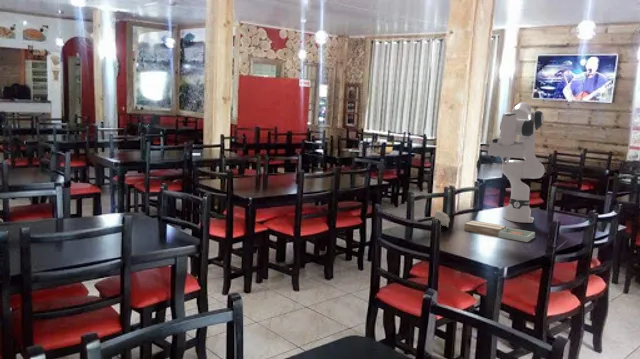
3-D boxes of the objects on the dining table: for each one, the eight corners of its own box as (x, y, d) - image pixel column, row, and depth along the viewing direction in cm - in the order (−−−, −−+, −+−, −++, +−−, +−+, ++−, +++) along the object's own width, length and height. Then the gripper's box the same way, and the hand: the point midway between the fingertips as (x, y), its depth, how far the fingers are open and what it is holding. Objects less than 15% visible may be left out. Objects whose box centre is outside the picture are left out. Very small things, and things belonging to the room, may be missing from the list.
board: (471, 226, 329) (472, 220, 328) (505, 232, 317) (506, 226, 317) (464, 230, 318) (464, 223, 318) (498, 236, 307) (499, 229, 306)
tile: (522, 232, 308) (522, 236, 308) (512, 231, 311) (511, 234, 312) (519, 234, 303) (519, 238, 303) (509, 232, 306) (508, 236, 307)
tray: (505, 232, 318) (506, 227, 318) (534, 237, 309) (535, 232, 309) (497, 236, 306) (498, 231, 306) (527, 242, 297) (527, 236, 296)
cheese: (437, 223, 310) (451, 205, 317) (427, 220, 316) (441, 202, 322) (444, 241, 319) (458, 223, 325) (434, 237, 324) (447, 220, 330)
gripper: (527, 142, 312) (524, 166, 313) (491, 139, 323) (489, 162, 325) (524, 142, 306) (521, 166, 308) (488, 139, 318) (485, 163, 320)
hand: (504, 164), depth 317 cm, fingers closed
